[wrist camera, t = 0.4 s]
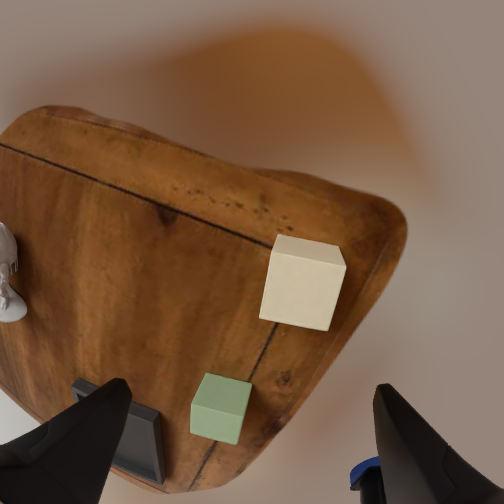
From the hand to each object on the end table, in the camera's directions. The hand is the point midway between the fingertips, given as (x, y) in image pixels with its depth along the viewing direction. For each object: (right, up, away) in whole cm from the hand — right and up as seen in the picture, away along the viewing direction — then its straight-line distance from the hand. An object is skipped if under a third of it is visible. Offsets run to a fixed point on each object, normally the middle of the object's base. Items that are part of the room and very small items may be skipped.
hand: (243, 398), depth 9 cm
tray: (-17, -20, +23) cm, 35 cm away
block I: (-2, -9, +17) cm, 19 cm away
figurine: (-28, +3, +18) cm, 34 cm away
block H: (+4, +4, +12) cm, 13 cm away
